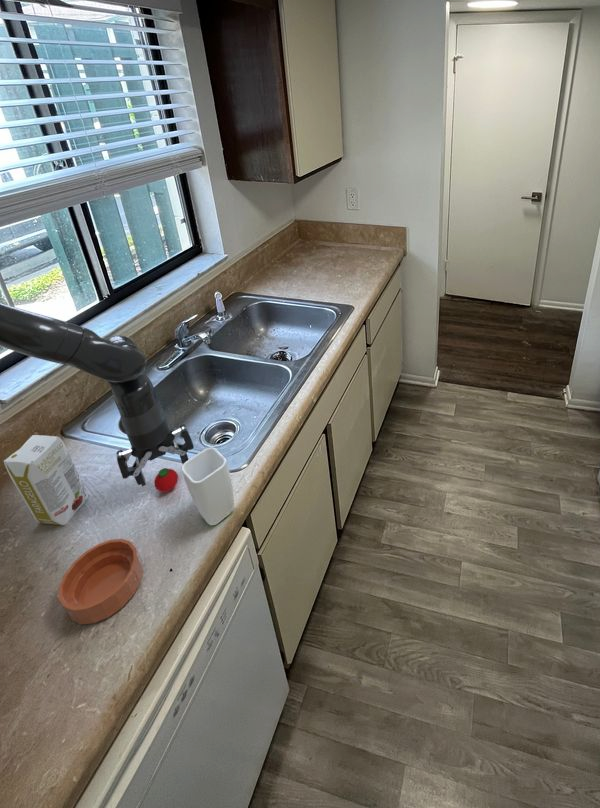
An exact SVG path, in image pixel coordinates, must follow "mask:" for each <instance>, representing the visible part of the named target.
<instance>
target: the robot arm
mask: <svg viewBox="0 0 600 808" xmlns="http://www.w3.org/2000/svg"><path fill="white" fill-rule="evenodd" d="M0 347H2V348H5V349H7V350H10V351H13V352H15V353H19V354H22V355H25V356H28V357H31V358H34V359H39V360H41V361H42V360H43V361H47V362H51V363H56V364H59V365H64V366H70V367H72V368H75V369H78V370H80V371H82V372H84V373H87V374H89V375H92V376H94V377H96V378H99V379H101V380H103V381H106V382H107V384H108V385H109V388H110V389H111V393H112V396H113V399H114V403H115V405H116V407H117V410H118V413H119V416H120V420H121V424H122V428H123V430H124V432H125V435H126V437H127V439H128V441H129V445H130V446H131V447H130V448H129V449H127V450H122V449H119V450H117V451H116V453H115V454H116V462H117V465H118V468H119V471H120V474H121V477H122V479H124V480H126V479H128V478H129V477H134V480H135V482H136V485H138V486H142V487H144V486H147V483H146V478H145V476H144V473H143V469H144V468H145V466H146V464H147V462H148V461H149V462H152V461H153V460H155V459H157V458H159V457H163V456H165V455H167V453H168V454H171V455H178V456H179V458H180V461H181V464H182V465H183V464H184V463H185V462H186V461H188V460H189V459H190V458H189V455H188V452H189V451H191V450H193V449H194V448H195V445H194V444H193V440H192V438H191V437H192V436H191V435H190V433H189V430H188V427H187V426H186V424H184V423H183V424H181V425H179V428H177V429H175V430H172V429H170V427H169V423H168V420H167V417H166V415H165V411H164V408H163V405H162V403H161V402H160V399H159V398H158V396H157V393H156V390H155V387H154V385H153V382H152V381H151V379H150V377H149V376H148V375H147V374H146V368H147V365H148V362H147V361H148V360H147V358H146V355H145V353H144V352H143V350H142V349H141V348H140V347H139V345H138V344H137V343H136V342H135V341H134V340H133V339H132V338H130V337H128V336H125V335H120V334H119V335H112V336H110V337H107V338H106V339H105V338H103V337H102V336H100V335H99V334H97V333H96V332H95V331H93V330H91V329H90V328H88V327H87V328H86V327H84V326H81V325H77V324H74V323H71V322H68V321H65V320H62V319H58V318H55V317H50V316H47V315H43V314H40V313H37V312H33V311H30V310H26V309H22V308H19V307H15V306H12V305H8V304H5V303H2V302H0ZM177 437H178V439H181V440H184V443H180V442H177V440H175V438H177ZM131 456H132V457H134V458H135V460H134V462H133V464H132V466H129V465H128V461H129V460H130V457H131Z"/></svg>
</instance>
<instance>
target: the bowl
mask: <svg viewBox="0 0 600 808" xmlns="http://www.w3.org/2000/svg"><path fill="white" fill-rule="evenodd" d="M144 572H145V571H144V562H143V560H142V558H141V555H140V554H139V551H138V549H137V547H136V546H135V545H134V544H133V542H132V541H130V540H126V539H124V538H115V539H109V540H107V541H103V542H100V543H98V544H96V545H94V546H93V547H91V548H89V549H87V550H86V551H84V552H83V554H81V555H80V556H79V557H78V558H77V559H76V560H75V561H73V562H72V564H71V565H70V566H69V568H68V569H67V570H66V571H65V573H64V574H63V575H62V579H61V581H60V584H59V586H58V595H57V597H58V598H57V599H58V600H59V602H60V604H61V607H63V609H64V610H65V612H66V614H67V616H68V617H69V619H70V620H71V622H74V623H77V624H80V625H91V624H97V623H98V622H101V621H103V620H105V619H108V618H109V617H111V616H112V615H114V614H115V613H117V612H118V611H119V610H121V609H122V608H123V607H124V606H125V605H126V604H127V603H128V602H129V601H130V600H131V599H132V598H133V597H134V595H135V593H136V592H137V590H138V588H139V587H140V585H141V583H142V579H143V576H144Z"/></svg>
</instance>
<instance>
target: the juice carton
mask: <svg viewBox="0 0 600 808" xmlns="http://www.w3.org/2000/svg"><path fill="white" fill-rule="evenodd" d="M3 464H4V468H5V469H6V471H7V474H8V476H9V478H10V480H11V481H12V483H13V484H14V486H15V488H16V490H17V492H18V493H19V495H20V497H21V498H22V500H23V502H24V503H25V505H26V507H27V508H28V511H29V512H30V514H31V515H32V518H33V519H34V520H35V521H36V522H37V523H38V524H44V525H54V526H66V525H67V524H68V523H69V522H70V520H71V519H72V518H73V517H74V515H75V514H76V513H77V512H78V510H79V509H80V508H81V507H82V506H83V505H84V504H85V502H86V501H87V500H88V498H89V494H88V492H87V489H86V487H85V484H84V482H83V479H82V477H81V476H80V473H79V472H78V469H77V468H76V465H75V463H74V461H73V459H72V457H71V455H70V453H69V451H68V448H67V447H66V445H65V443H64V441H63V440H62V439H61V437H60V436H55V435H43V434H42V435H40V434H39V435H38V434H32V435H31V436H30V437H29V438H28V439H27V440H26V441H25V442H24V444H23V445H22V446H21V447H20V448H19V449H18V450H16V451H15V452H13V453H12V454H11V455H9V456H8V457H7V458H6V459H4V460H3Z"/></svg>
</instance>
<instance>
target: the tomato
mask: <svg viewBox="0 0 600 808" xmlns="http://www.w3.org/2000/svg"><path fill="white" fill-rule="evenodd" d="M178 480H179V475H178V473H177V471H175V470H174V469H172V468H167V467H164V468H161V469H160V470H159V471H158V473H157V474H156V476H155V477H154V481H153V483H154V484H153V485H154V488H155V489H156V490H157V491H158V492H162V493H166V492H167V493H168V492H169V491H171V490H173V489H174V488H175V487H176V485H178Z"/></svg>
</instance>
